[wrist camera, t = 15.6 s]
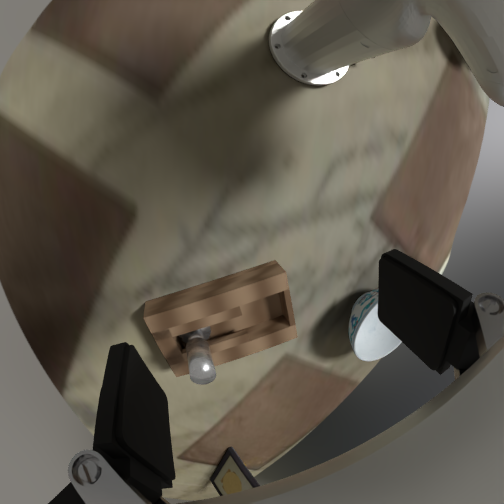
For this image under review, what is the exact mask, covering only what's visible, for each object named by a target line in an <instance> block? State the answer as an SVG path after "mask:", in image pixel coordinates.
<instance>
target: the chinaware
mask: <svg viewBox="0 0 504 504" xmlns="http://www.w3.org/2000/svg"><path fill="white" fill-rule="evenodd" d="M378 290H379V288H377V289H375V290H372V291H371V292H367V293H365V294H363V295H362V296H360V297H359V298H358V299H357V301H356V302H355V304H354V305H353V308H352V314H351V317H350V321H349V328H348V332H349V339H350V343H351V346H352V349H353V351H354V353H355V354H356V356H357V357H358V358H359V359H361V360H363V361H374V360H377V359H380V358H382V357H384V356H386V355H387V354H389V353H390V352H392V351H393V350H394V349H395V348H396V347H397V346H399V345H400V344H401V342H402V341H401V340H400V339H399V338H397V337H396V336H395V335H394V334H393V333H392V332H391V331H390V330H389V329H388V328H387V327H386V326H384V325H383V324H382V323H381V322H380V320H379V318H378V314H377V313H378Z"/></svg>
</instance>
